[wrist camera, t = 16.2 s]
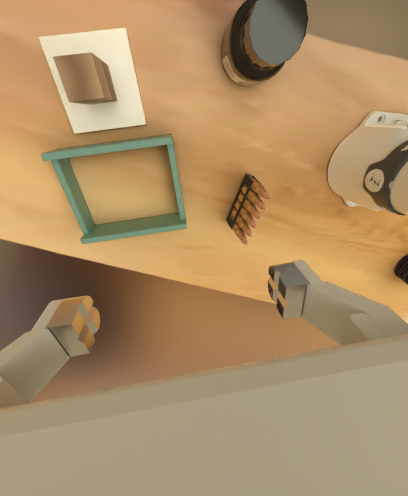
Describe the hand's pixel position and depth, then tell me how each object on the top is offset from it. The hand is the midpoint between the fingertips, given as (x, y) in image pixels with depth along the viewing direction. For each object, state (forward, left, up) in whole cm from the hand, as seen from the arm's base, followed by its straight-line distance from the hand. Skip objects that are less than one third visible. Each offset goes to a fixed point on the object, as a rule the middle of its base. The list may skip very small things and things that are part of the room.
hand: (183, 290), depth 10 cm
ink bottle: (-14, -14, -37) cm, 42 cm away
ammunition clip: (-12, +10, -37) cm, 40 cm away
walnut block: (+10, -12, -36) cm, 39 cm away
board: (+10, -12, -37) cm, 40 cm away
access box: (+10, +4, -37) cm, 39 cm away
